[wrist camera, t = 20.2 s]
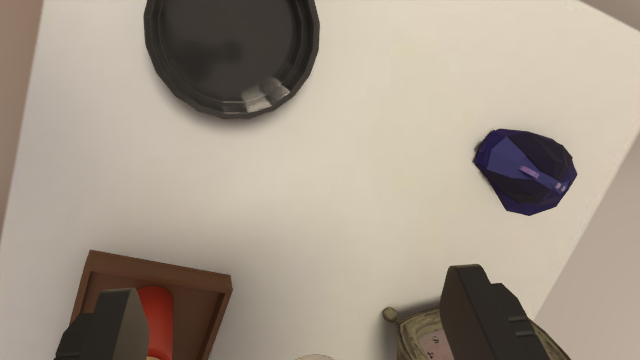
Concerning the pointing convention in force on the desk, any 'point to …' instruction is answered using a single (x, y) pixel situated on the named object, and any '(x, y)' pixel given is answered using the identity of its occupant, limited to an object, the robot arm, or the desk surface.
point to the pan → (232, 52)
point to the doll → (158, 321)
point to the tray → (183, 283)
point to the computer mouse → (526, 170)
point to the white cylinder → (315, 357)
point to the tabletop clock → (442, 337)
